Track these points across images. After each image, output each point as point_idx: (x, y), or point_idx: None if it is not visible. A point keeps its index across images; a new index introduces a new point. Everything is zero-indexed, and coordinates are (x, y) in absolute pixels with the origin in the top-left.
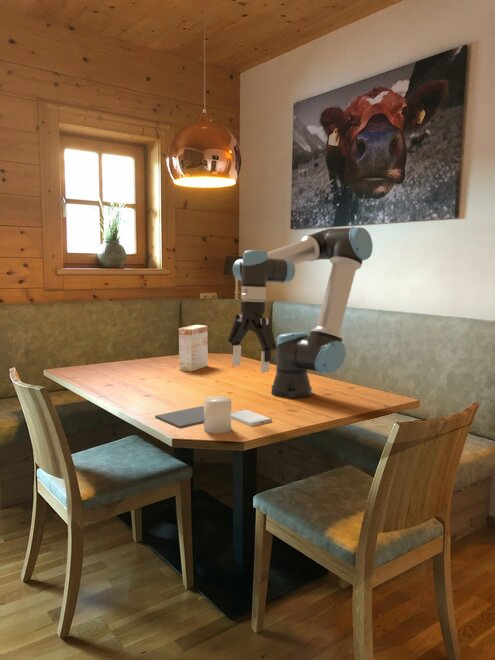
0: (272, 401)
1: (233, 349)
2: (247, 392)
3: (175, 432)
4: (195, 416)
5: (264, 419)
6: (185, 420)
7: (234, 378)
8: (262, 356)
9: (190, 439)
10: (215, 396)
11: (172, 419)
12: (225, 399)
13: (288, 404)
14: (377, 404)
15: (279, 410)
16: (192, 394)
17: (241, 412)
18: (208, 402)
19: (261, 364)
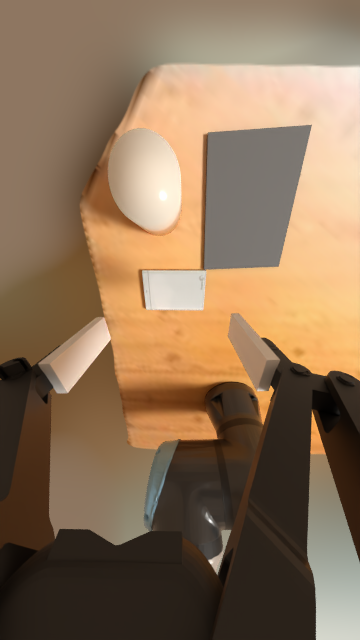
0: (220, 365)
1: (264, 346)
2: None
3: (188, 103)
4: (237, 212)
5: (147, 298)
6: (230, 173)
7: None
8: (61, 347)
9: (131, 106)
10: (176, 200)
11: (256, 148)
12: (136, 204)
13: (196, 370)
14: (139, 424)
15: (182, 347)
16: (349, 303)
17: (196, 293)
18: (131, 130)
19: (87, 329)
